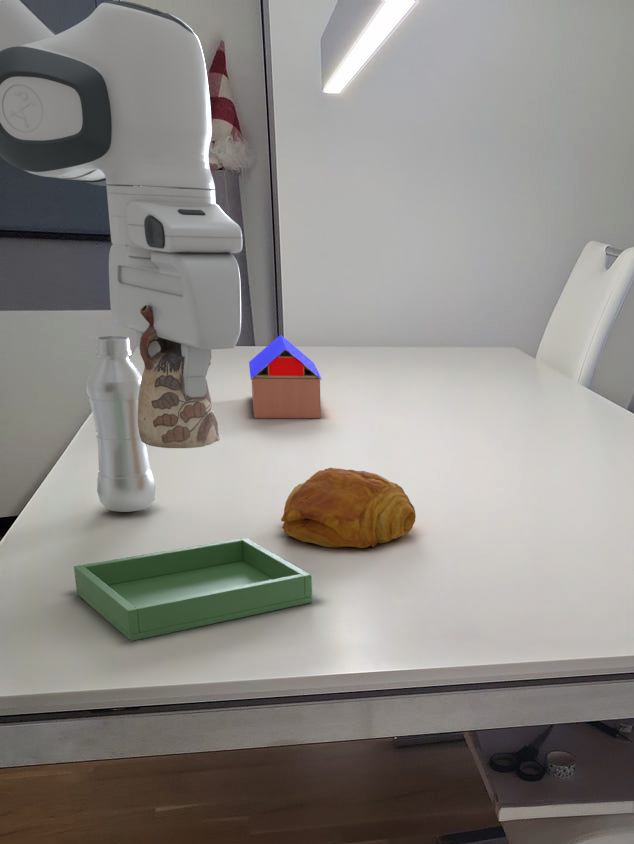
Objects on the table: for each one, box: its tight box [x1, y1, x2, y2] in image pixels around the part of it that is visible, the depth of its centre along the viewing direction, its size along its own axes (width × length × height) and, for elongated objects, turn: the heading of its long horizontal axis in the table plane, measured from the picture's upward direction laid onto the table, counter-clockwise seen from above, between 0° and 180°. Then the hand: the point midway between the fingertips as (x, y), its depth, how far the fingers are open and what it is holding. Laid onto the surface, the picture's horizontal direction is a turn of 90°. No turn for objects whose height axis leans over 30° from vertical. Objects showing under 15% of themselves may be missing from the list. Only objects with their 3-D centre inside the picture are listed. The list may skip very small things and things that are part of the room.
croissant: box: [280, 467, 417, 549], centre depth 118 cm, size 14×16×8 cm
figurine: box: [138, 305, 221, 449], centre depth 93 cm, size 7×7×12 cm
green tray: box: [73, 537, 313, 642], centre depth 97 cm, size 18×14×3 cm
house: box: [248, 334, 323, 419], centre depth 186 cm, size 12×20×12 cm, turn 13°
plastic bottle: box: [85, 335, 157, 513], centre depth 120 cm, size 6×7×20 cm
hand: (175, 389), depth 94 cm, fingers closed on figurine, 6 cm apart
